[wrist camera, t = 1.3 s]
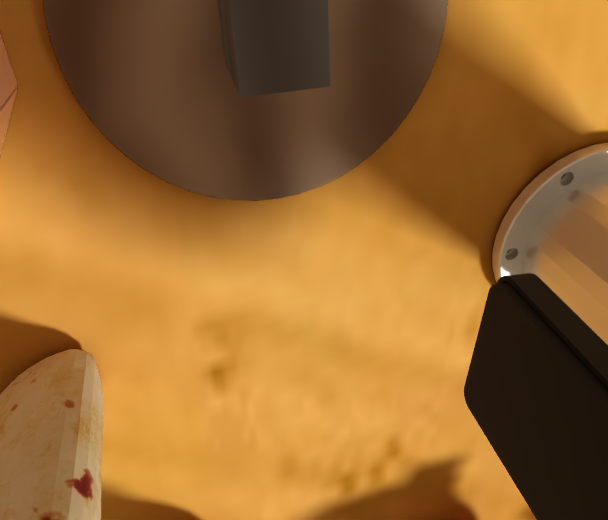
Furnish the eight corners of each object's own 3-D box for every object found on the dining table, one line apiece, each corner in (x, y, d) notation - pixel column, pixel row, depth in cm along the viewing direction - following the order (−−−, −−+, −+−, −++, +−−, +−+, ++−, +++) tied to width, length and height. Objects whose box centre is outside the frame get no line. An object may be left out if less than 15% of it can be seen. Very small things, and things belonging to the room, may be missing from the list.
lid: (457, -251, 22) (545, -293, 17) (426, 166, 32) (476, 215, 27) (-26, -238, 19) (-86, -283, 14) (106, 216, 29) (97, 280, 24)
